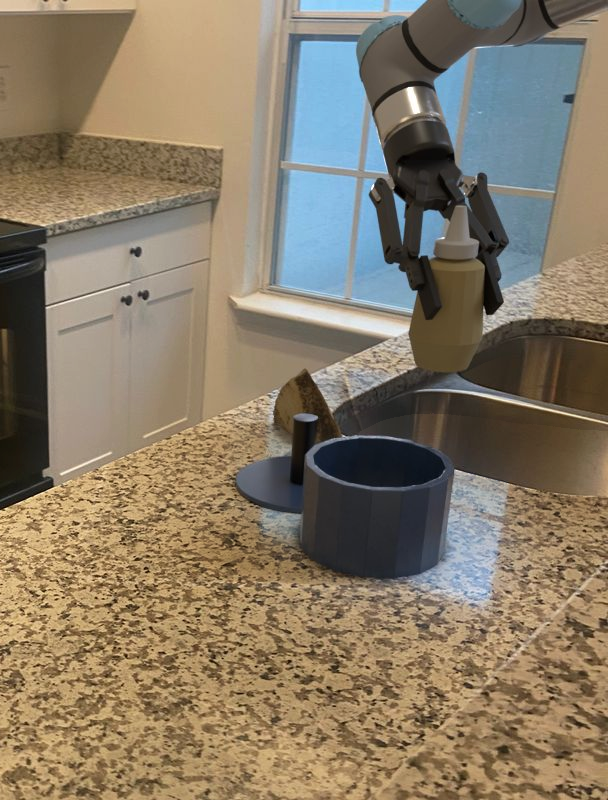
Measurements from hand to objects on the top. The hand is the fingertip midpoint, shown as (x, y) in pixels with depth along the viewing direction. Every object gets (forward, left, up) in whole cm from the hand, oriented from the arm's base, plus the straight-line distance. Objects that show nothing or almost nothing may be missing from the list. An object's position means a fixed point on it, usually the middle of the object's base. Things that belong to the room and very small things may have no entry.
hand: (464, 310), depth 112 cm
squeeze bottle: (+1, -3, -8) cm, 8 cm away
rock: (+16, -8, -19) cm, 26 cm away
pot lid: (+17, +8, -18) cm, 26 cm away
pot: (+11, +22, -18) cm, 31 cm away
